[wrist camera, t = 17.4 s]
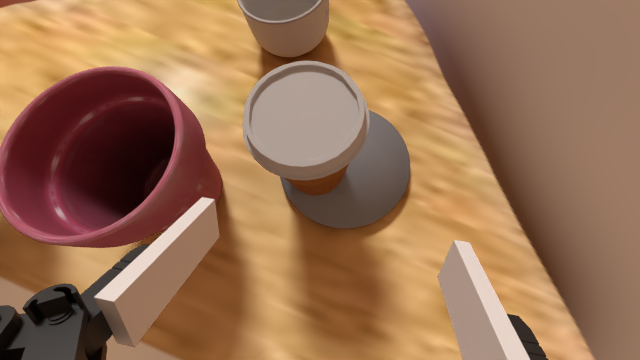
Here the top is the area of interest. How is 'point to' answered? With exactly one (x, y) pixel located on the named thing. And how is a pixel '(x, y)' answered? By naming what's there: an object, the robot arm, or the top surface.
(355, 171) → the gray dome
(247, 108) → the disposable coffee cup
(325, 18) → the teacup
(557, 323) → the top surface
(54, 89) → the plant pot
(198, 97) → the top surface
